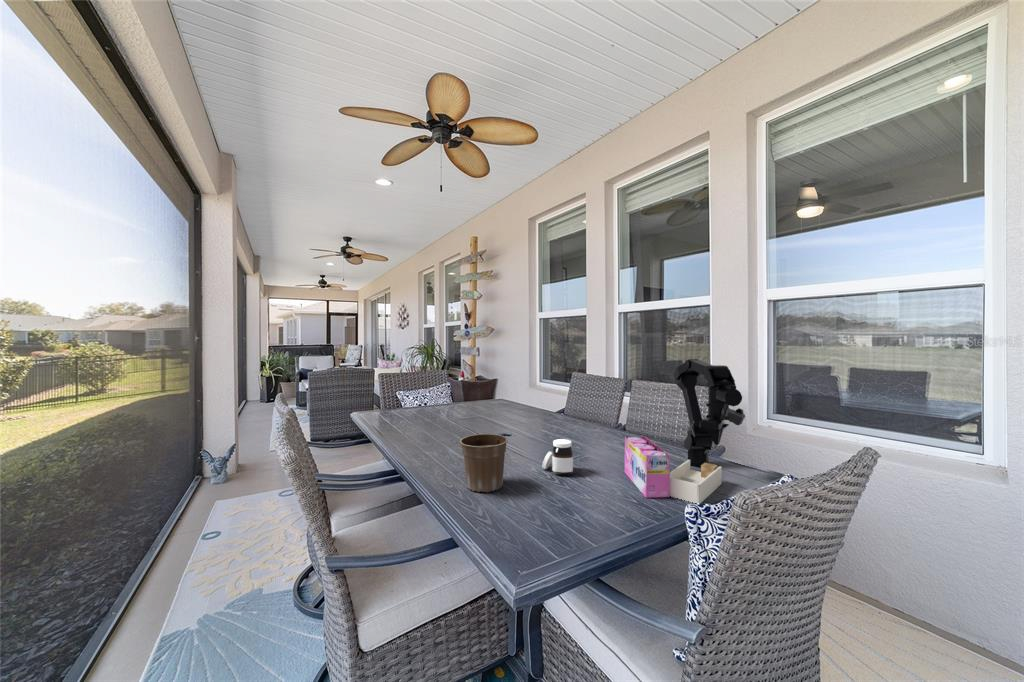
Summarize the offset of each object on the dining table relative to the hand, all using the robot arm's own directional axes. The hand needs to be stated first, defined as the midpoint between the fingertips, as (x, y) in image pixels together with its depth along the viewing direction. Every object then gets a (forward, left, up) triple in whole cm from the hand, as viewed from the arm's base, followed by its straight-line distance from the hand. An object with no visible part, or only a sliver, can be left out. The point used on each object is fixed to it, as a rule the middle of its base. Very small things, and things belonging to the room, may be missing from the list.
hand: (716, 444), depth 145 cm
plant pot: (-56, -61, -12) cm, 84 cm away
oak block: (0, -8, -10) cm, 12 cm away
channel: (-2, -16, -12) cm, 20 cm away
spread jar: (-46, -33, -12) cm, 58 cm away
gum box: (-16, -23, -12) cm, 30 cm away
